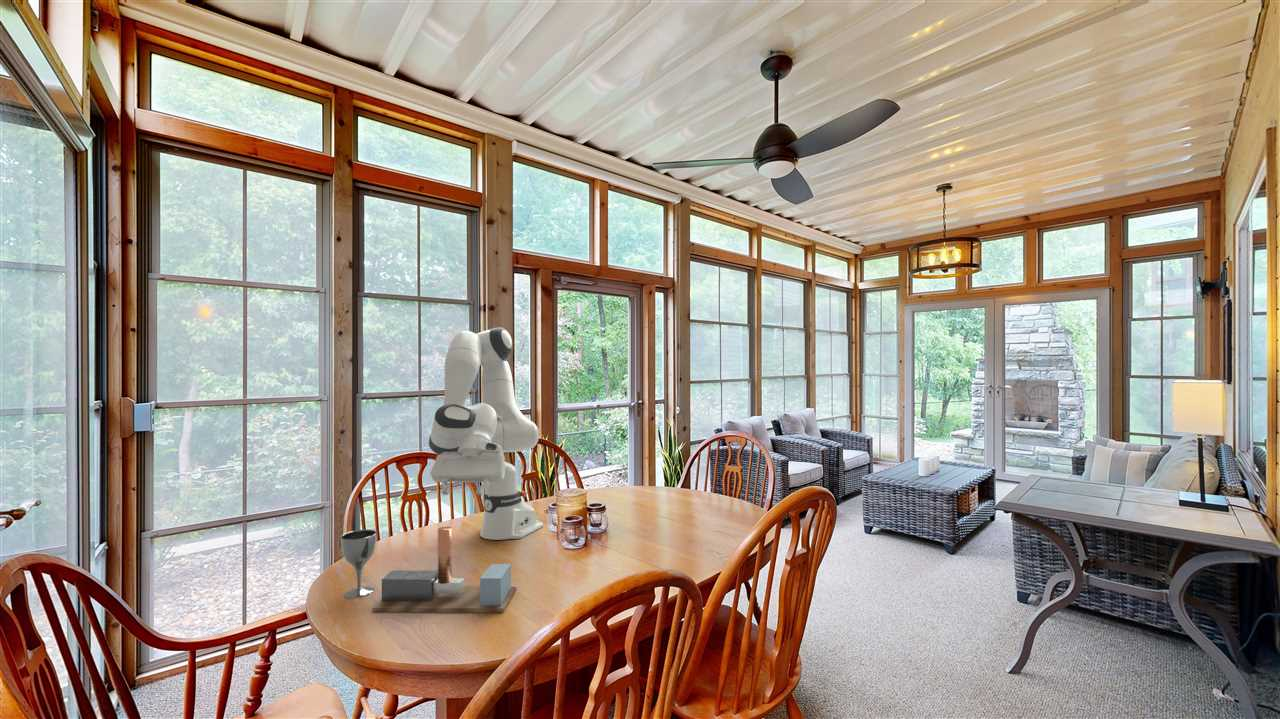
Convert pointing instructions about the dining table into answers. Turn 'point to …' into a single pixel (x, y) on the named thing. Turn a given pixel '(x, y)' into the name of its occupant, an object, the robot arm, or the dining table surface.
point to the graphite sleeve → (408, 586)
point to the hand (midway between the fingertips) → (461, 494)
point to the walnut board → (446, 603)
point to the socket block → (495, 584)
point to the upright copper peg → (446, 565)
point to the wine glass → (358, 557)
